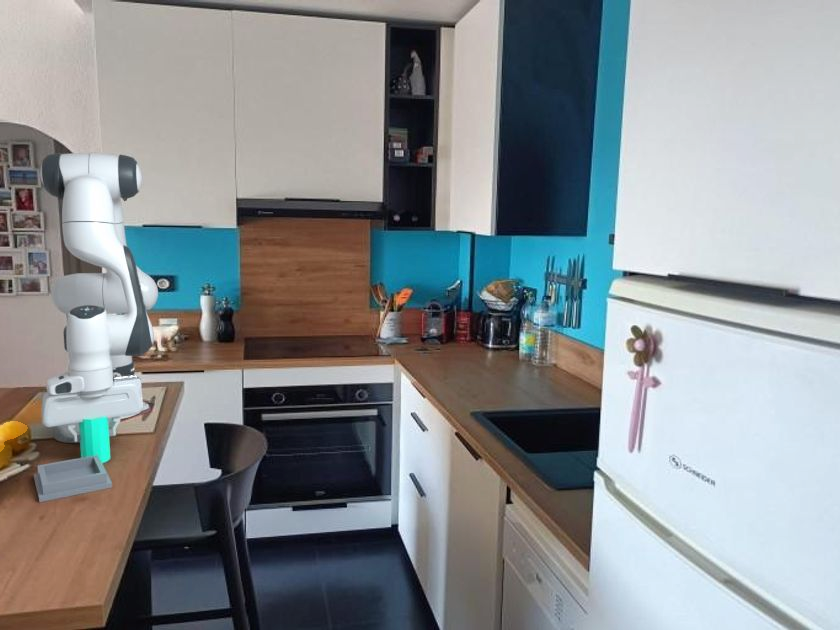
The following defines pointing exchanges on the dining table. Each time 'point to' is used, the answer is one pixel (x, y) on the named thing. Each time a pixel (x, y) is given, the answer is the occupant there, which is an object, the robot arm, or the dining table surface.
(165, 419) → the dining table surface
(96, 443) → the candle
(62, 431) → the dish
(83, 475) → the holder
